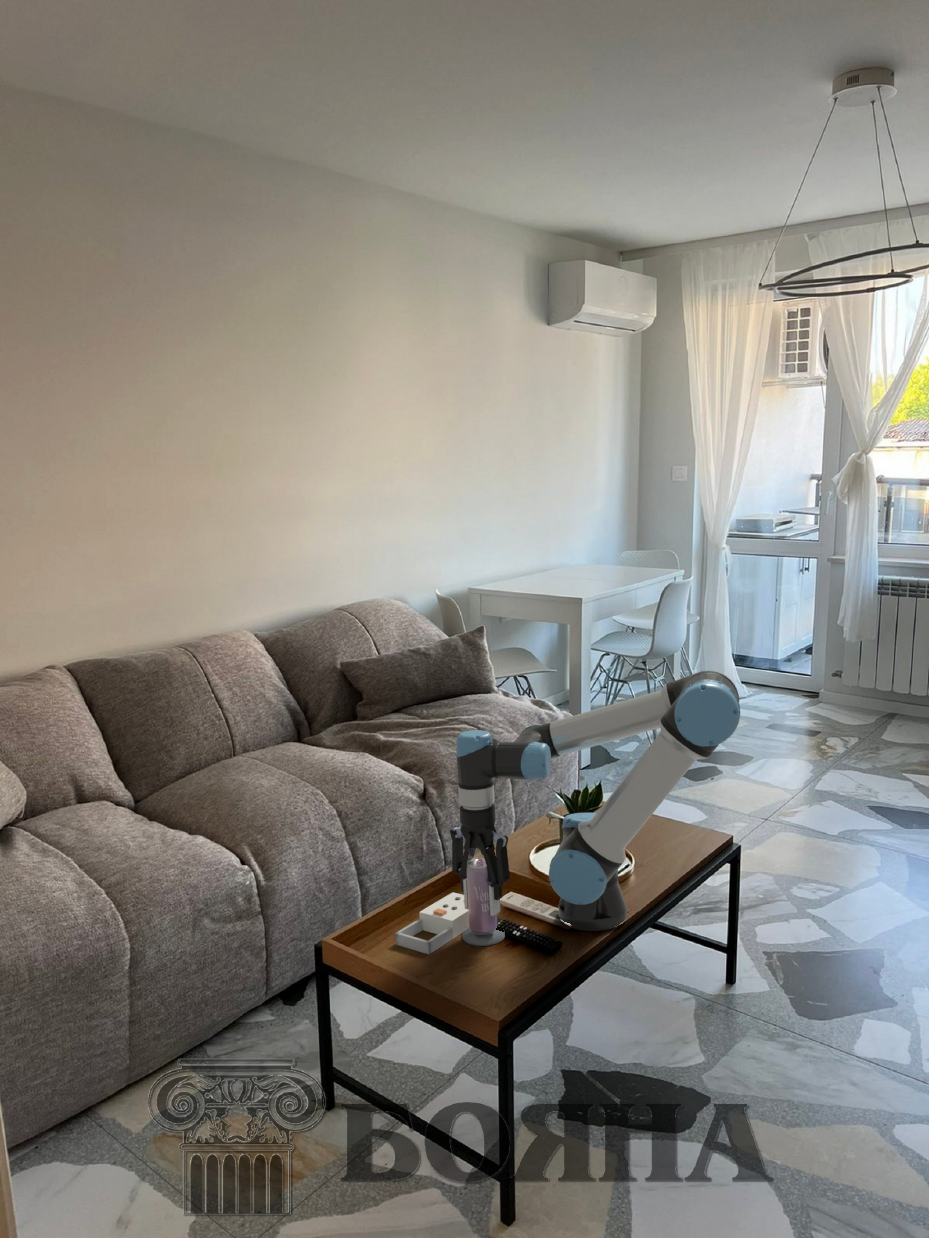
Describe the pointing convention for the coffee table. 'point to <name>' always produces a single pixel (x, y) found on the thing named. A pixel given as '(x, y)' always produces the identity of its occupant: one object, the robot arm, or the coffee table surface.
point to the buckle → (436, 924)
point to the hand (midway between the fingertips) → (482, 909)
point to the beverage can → (479, 897)
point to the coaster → (483, 938)
